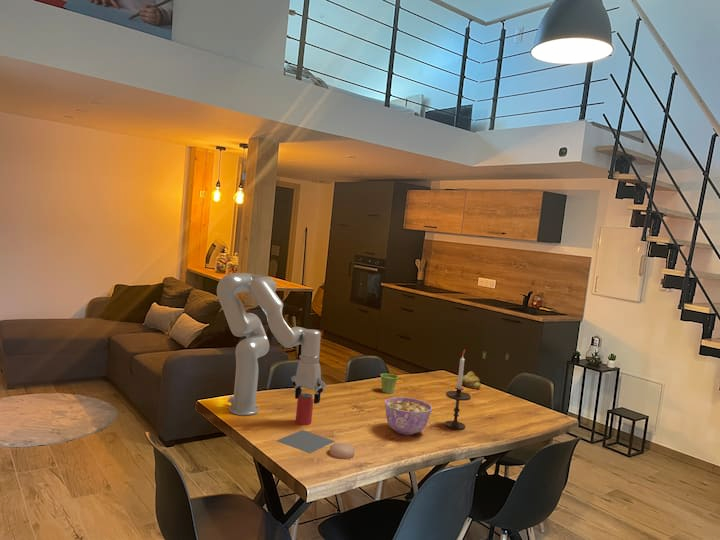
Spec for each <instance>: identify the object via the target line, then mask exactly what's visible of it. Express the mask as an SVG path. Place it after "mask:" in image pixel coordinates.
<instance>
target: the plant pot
mask: <svg viewBox="0 0 720 540" xmlns="http://www.w3.org/2000/svg"><path fill="white" fill-rule="evenodd" d="M379 375H380V379H381V392H383V393H385V394H392V393H394V392H395V391H394V390H395V387H396V384H397V381H398V378H399V375H396V374H393V373H380V374H379Z"/></svg>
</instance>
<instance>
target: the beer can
mask: <svg viewBox="0 0 720 540" xmlns="http://www.w3.org/2000/svg"><path fill="white" fill-rule="evenodd" d="M313 396H314V395H312V394H311V393H308V392H307V393H305V392H304V393H301V394H300V395H299V397H298V399H296V400H297V401H296V403H297V404H296V410H295V411H296V413H295V423H296V424H297V425H300V426H309V425H311V424H312V420H313V419H312V418H313V407H314V397H313Z"/></svg>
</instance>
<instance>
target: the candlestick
mask: <svg viewBox="0 0 720 540" xmlns="http://www.w3.org/2000/svg"><path fill="white" fill-rule="evenodd" d="M465 353H466V349H464V350H463V351H462V353H461V355H462V356H461V358H460V359H459V365H458V366H459V368H458V377H457V384H456V387H454V389H455V390H448V391H446V393H445V396H446V397H447V398H449V399H452V400H455V408H453V412H454V413H453V417H454V418H453V420H446V421H445V422H444V426H445V427H446V428H448V429H450V430H453V431H454V430H455V431H463V430H465V429H466V425H465V423H463V422H460V421H458V417H459V416H460V415H459V413H460V411H461V409H460V408H459V407H460V406H459V405H460V402H462V401H463V402H464V401H470V400H472V398H471V397H472V396H471V395H470V394H469V393H466V392H464V388H462V385H463V384H462V378H463V376H464V367H465V360H466V359H465V358H464V355H465Z"/></svg>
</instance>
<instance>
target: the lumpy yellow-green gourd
mask: <svg viewBox="0 0 720 540" xmlns="http://www.w3.org/2000/svg"><path fill="white" fill-rule="evenodd" d="M462 385H463V386H465V387H467V388H471V389H474V390H475V389H477V390H478V389H480V388H481V386H482V385H481V382H480V378H479V377H478V376H477V375H476V374H475V372H474V371H473V370H470V371H468V372H467V374H465V375H464V374H463V378H462Z"/></svg>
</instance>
